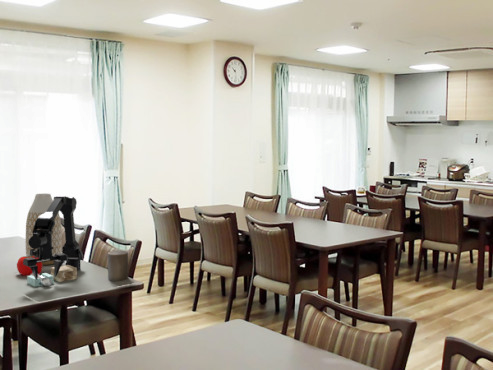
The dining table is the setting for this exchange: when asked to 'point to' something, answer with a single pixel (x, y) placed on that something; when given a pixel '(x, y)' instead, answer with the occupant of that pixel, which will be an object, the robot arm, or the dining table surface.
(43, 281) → the axle
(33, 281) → the cradle
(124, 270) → the pillar candle
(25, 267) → the tomato
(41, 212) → the vase
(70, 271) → the open beige box
